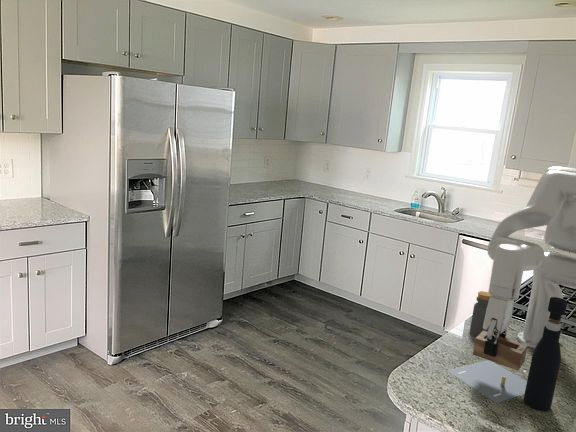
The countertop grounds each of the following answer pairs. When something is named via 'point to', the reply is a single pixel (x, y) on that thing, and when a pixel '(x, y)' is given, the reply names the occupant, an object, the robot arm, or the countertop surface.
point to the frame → (502, 351)
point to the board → (491, 380)
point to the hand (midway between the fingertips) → (493, 349)
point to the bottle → (479, 313)
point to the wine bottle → (546, 360)
